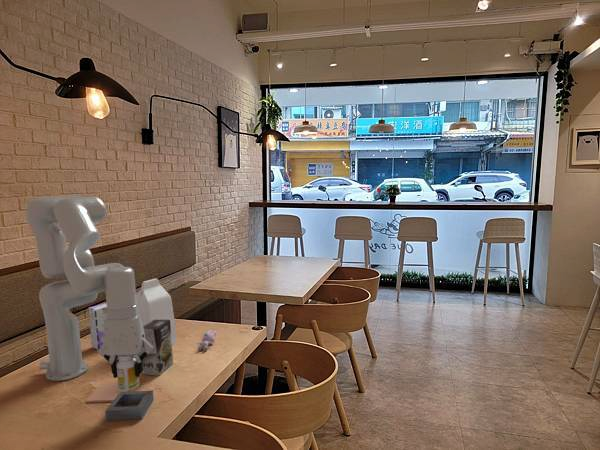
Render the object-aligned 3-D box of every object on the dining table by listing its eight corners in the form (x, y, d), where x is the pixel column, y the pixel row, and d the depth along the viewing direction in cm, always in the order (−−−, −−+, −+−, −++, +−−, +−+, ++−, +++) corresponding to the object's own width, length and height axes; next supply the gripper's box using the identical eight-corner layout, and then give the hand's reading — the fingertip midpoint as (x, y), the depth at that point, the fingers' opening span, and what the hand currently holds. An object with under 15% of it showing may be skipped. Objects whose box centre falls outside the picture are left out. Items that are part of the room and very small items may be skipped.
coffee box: (160, 376, 136) (156, 329, 134) (142, 374, 137) (139, 328, 135) (174, 363, 145) (171, 319, 143) (157, 362, 146) (154, 318, 144)
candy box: (125, 336, 171) (122, 298, 169) (132, 339, 167) (129, 300, 166) (91, 347, 161) (87, 306, 159) (98, 351, 157) (94, 309, 155)
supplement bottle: (140, 380, 118) (138, 348, 117) (137, 389, 113) (134, 356, 112) (120, 383, 117) (117, 350, 116) (116, 392, 112) (113, 358, 111)
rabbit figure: (209, 356, 153) (221, 334, 167) (208, 342, 151) (220, 321, 166) (193, 355, 154) (206, 334, 168) (191, 341, 152) (205, 321, 166)
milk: (152, 353, 153) (147, 285, 150) (132, 347, 159) (127, 282, 156) (177, 342, 164) (172, 278, 160) (157, 336, 170) (153, 275, 166)
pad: (86, 402, 121) (85, 400, 121) (101, 385, 131) (101, 383, 130) (120, 401, 121) (120, 399, 121) (133, 384, 131) (133, 382, 131)
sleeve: (106, 420, 111) (105, 410, 111) (120, 401, 121) (119, 391, 120) (142, 419, 111) (141, 409, 111) (153, 400, 121) (152, 390, 120)
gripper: (84, 318, 109) (90, 383, 111) (149, 315, 109) (154, 380, 111) (97, 309, 116) (103, 370, 118) (158, 306, 116) (163, 367, 119)
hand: (128, 374), depth 115 cm, fingers closed on supplement bottle, 5 cm apart
